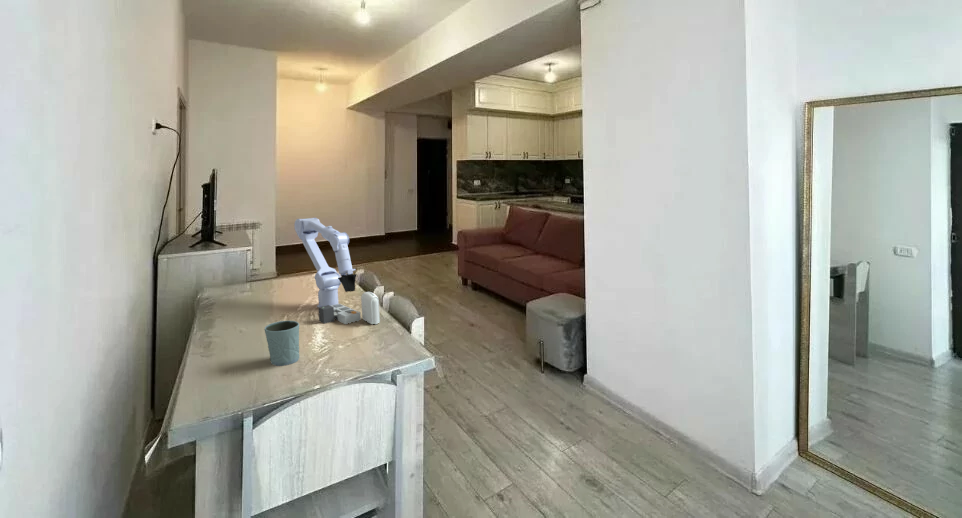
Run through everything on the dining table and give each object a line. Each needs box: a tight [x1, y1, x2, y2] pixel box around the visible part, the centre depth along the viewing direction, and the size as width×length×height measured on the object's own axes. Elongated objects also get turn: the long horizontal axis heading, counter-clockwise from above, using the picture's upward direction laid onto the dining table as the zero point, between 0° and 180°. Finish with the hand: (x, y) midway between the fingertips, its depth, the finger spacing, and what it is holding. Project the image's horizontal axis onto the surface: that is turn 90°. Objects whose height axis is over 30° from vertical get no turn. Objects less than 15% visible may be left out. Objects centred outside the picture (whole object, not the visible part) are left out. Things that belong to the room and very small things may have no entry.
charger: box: [317, 305, 337, 325], centre depth 182 cm, size 4×7×6 cm, turn 135°
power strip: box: [331, 303, 362, 325], centre depth 186 cm, size 18×7×4 cm, turn 45°
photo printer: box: [360, 291, 381, 325], centre depth 181 cm, size 10×4×12 cm, turn 40°
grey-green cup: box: [263, 320, 300, 367], centre depth 142 cm, size 10×10×12 cm
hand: (350, 291), depth 189 cm, fingers open, 7 cm apart
